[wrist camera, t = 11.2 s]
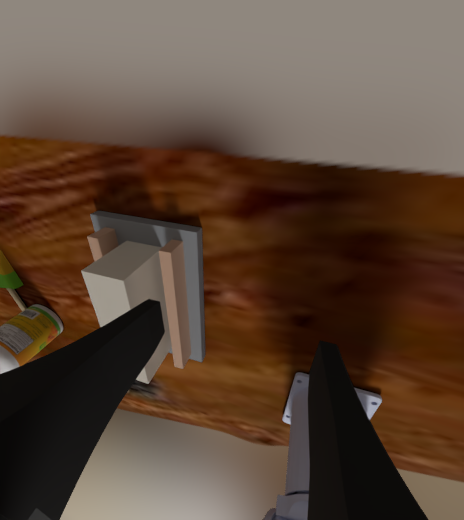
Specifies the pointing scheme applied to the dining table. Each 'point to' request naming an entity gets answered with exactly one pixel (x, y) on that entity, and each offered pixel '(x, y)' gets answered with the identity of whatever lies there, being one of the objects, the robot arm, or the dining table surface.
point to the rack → (165, 272)
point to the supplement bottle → (27, 336)
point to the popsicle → (10, 280)
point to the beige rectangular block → (129, 290)
